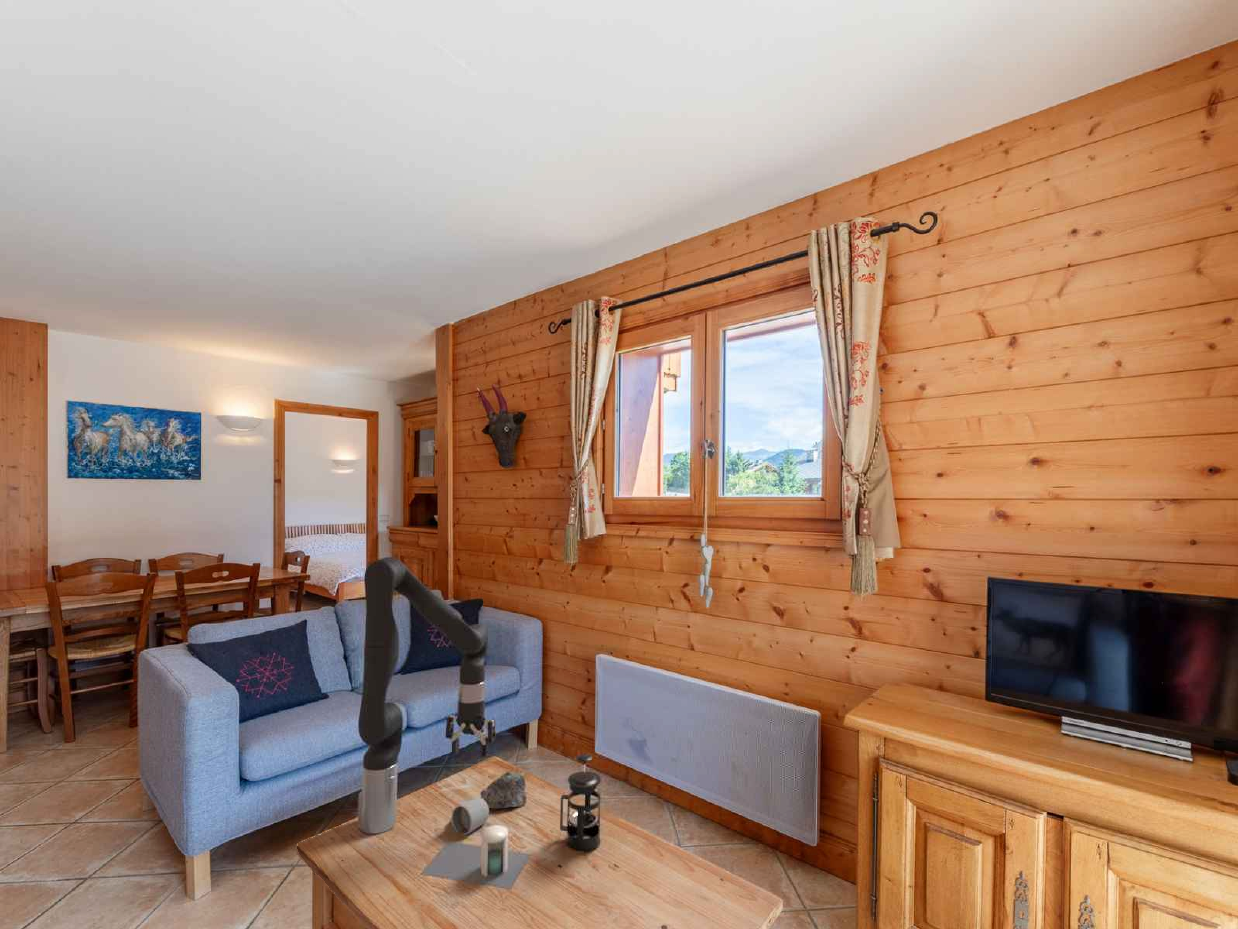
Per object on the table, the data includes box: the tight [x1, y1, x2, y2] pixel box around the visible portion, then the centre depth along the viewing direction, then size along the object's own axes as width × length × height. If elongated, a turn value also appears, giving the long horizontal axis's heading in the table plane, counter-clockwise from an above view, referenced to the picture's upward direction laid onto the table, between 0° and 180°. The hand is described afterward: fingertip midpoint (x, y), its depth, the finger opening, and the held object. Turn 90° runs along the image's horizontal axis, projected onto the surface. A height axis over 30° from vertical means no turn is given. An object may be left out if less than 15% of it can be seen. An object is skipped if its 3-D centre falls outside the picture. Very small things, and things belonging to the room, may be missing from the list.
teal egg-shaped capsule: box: [487, 850, 503, 874], centre depth 150 cm, size 4×4×4 cm
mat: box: [419, 840, 532, 890], centre depth 152 cm, size 24×14×1 cm, turn 78°
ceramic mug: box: [450, 796, 490, 836], centre depth 169 cm, size 11×8×8 cm
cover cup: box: [480, 824, 509, 877], centre depth 150 cm, size 6×6×9 cm
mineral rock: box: [479, 770, 527, 810], centre depth 181 cm, size 13×11×10 cm
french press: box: [559, 753, 602, 853], centre depth 163 cm, size 12×9×23 cm
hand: (469, 755), depth 169 cm, fingers open, 8 cm apart
